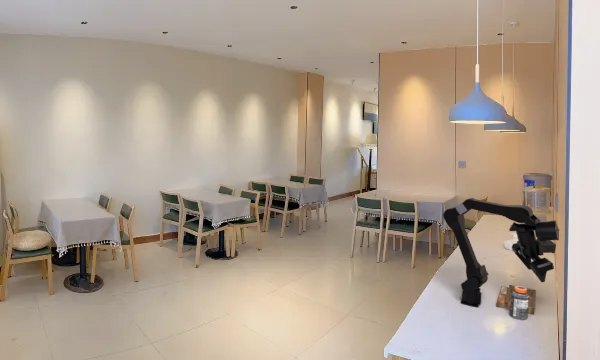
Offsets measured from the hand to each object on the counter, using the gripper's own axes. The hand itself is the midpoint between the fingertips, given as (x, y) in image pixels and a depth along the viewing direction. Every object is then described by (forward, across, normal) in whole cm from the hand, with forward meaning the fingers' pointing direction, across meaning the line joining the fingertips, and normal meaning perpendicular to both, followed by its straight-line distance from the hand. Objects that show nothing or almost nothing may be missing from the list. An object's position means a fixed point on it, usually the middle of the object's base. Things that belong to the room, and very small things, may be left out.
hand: (536, 275), depth 149 cm
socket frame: (+15, +9, +7) cm, 19 cm away
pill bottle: (+11, -5, +12) cm, 17 cm away
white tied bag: (+41, +84, -22) cm, 96 cm away
